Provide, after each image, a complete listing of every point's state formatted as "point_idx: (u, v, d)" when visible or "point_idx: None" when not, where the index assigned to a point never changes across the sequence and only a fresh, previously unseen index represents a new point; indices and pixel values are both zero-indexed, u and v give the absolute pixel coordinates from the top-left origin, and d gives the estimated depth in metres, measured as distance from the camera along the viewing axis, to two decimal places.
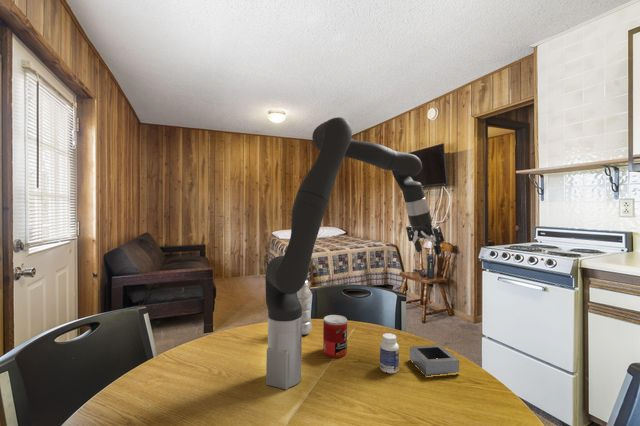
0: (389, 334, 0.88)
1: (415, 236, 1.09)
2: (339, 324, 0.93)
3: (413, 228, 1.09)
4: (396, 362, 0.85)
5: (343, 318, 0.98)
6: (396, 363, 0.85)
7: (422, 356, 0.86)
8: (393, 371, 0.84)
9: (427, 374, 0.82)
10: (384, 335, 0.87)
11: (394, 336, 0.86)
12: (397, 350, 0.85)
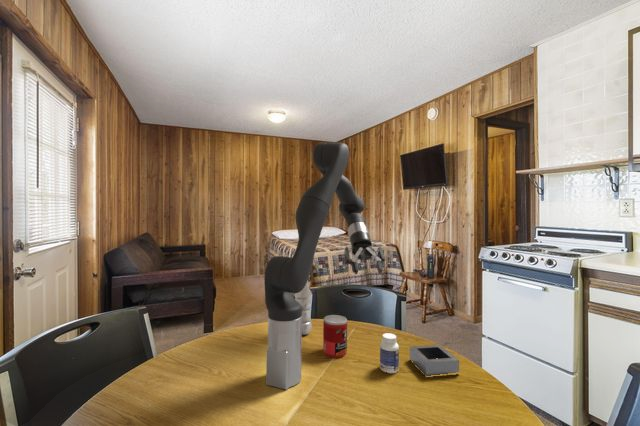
0: (389, 334, 0.88)
1: (358, 253, 1.05)
2: (339, 324, 0.93)
3: (354, 248, 1.07)
4: (396, 362, 0.85)
5: (343, 318, 0.98)
6: (396, 363, 0.85)
7: (422, 356, 0.86)
8: (393, 371, 0.84)
9: (427, 374, 0.82)
10: (384, 335, 0.87)
11: (394, 336, 0.86)
12: (397, 350, 0.85)
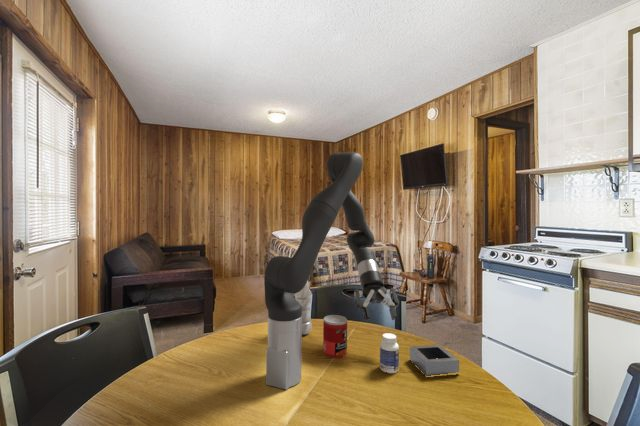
0: (389, 334, 0.88)
1: (369, 297, 0.97)
2: (339, 324, 0.93)
3: (365, 290, 0.99)
4: (396, 362, 0.85)
5: (343, 318, 0.98)
6: (396, 363, 0.85)
7: (422, 356, 0.86)
8: (393, 371, 0.84)
9: (427, 374, 0.82)
10: (384, 335, 0.87)
11: (394, 336, 0.86)
12: (397, 350, 0.85)
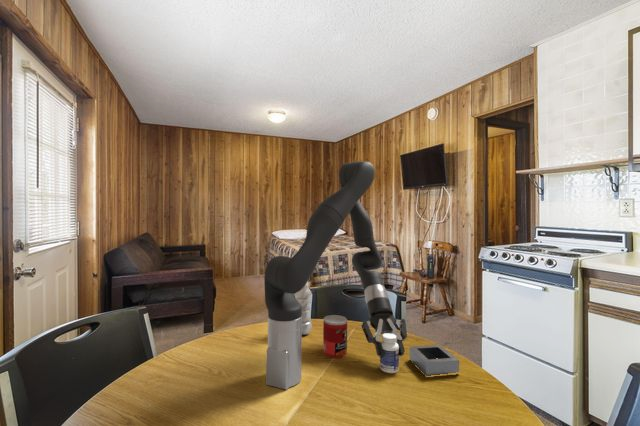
0: (389, 334, 0.88)
1: (380, 328, 0.89)
2: (339, 324, 0.93)
3: (373, 319, 0.91)
4: (396, 362, 0.85)
5: (343, 318, 0.98)
6: (396, 363, 0.85)
7: (422, 356, 0.86)
8: (393, 371, 0.84)
9: (427, 374, 0.82)
10: (384, 335, 0.87)
11: (394, 336, 0.86)
12: (397, 350, 0.85)
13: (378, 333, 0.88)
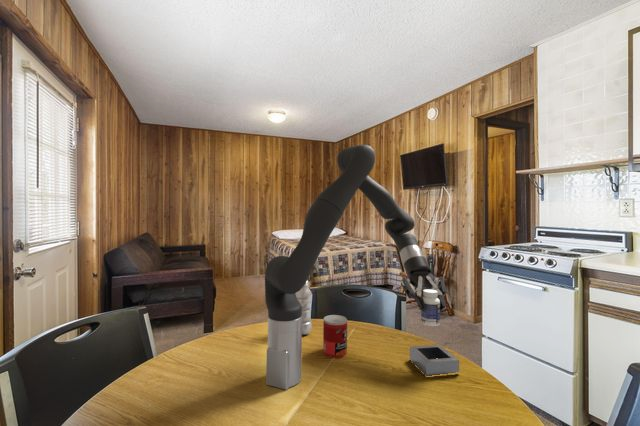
0: (429, 290, 0.90)
1: (420, 284, 0.90)
2: (339, 324, 0.93)
3: (412, 277, 0.93)
4: (438, 315, 0.86)
5: (343, 318, 0.98)
6: (438, 316, 0.86)
7: (422, 356, 0.86)
8: (435, 324, 0.86)
9: (427, 374, 0.82)
10: (425, 290, 0.89)
11: (435, 291, 0.88)
12: (439, 304, 0.87)
13: (419, 289, 0.89)
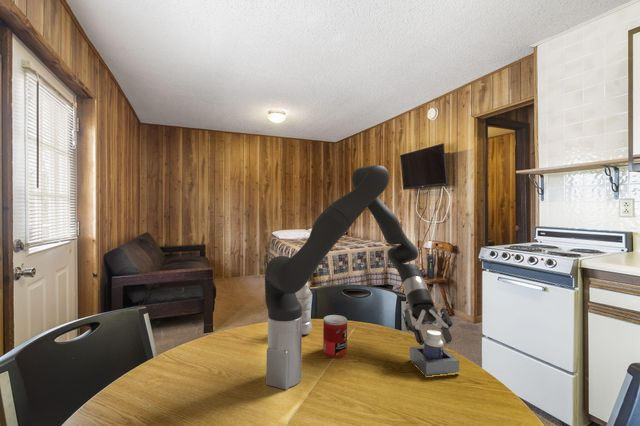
0: (433, 330, 0.89)
1: (421, 318, 0.90)
2: (339, 324, 0.93)
3: (415, 310, 0.92)
4: (441, 358, 0.86)
5: (343, 318, 0.98)
6: None
7: (422, 356, 0.86)
8: None
9: (427, 374, 0.82)
10: (428, 331, 0.88)
11: (439, 332, 0.88)
12: (442, 346, 0.86)
13: (418, 322, 0.89)
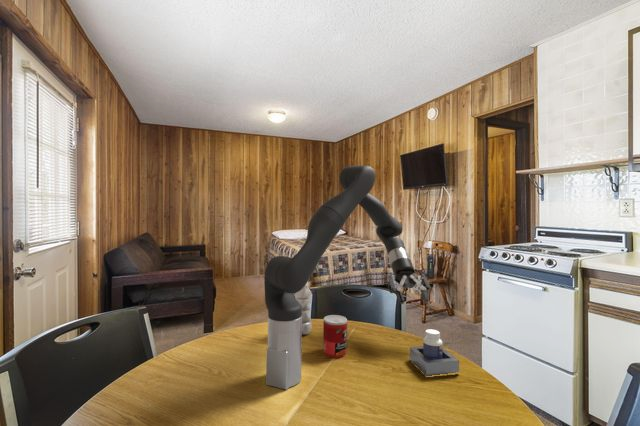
0: (432, 330, 0.89)
1: (402, 282, 1.03)
2: (339, 324, 0.93)
3: (398, 276, 1.05)
4: (440, 357, 0.86)
5: (343, 318, 0.98)
6: (440, 358, 0.86)
7: (422, 356, 0.86)
8: None
9: (427, 375, 0.82)
10: (427, 331, 0.89)
11: (437, 332, 0.88)
12: (441, 345, 0.86)
13: (400, 285, 1.02)
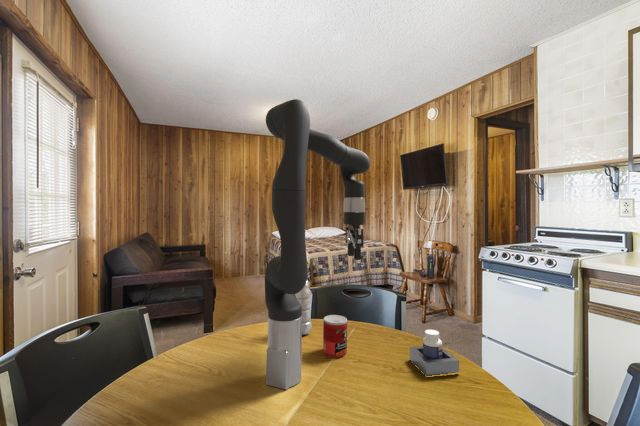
0: (432, 330, 0.89)
1: (347, 237, 1.05)
2: (339, 324, 0.93)
3: (348, 228, 1.06)
4: (439, 358, 0.86)
5: (343, 318, 0.98)
6: None
7: (422, 356, 0.86)
8: None
9: (427, 374, 0.82)
10: (426, 331, 0.89)
11: (437, 332, 0.87)
12: (440, 346, 0.86)
13: None
